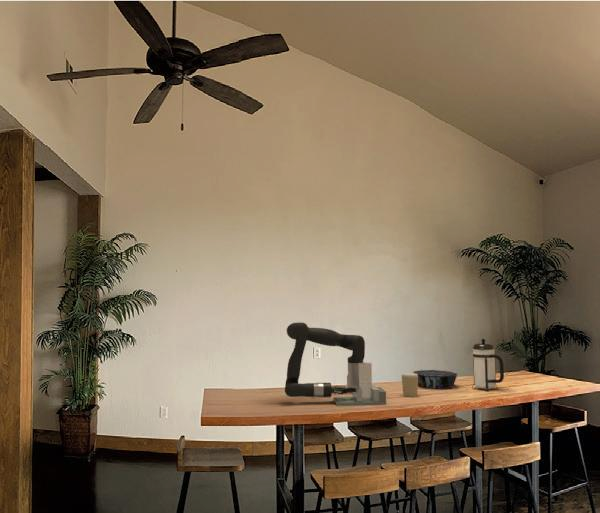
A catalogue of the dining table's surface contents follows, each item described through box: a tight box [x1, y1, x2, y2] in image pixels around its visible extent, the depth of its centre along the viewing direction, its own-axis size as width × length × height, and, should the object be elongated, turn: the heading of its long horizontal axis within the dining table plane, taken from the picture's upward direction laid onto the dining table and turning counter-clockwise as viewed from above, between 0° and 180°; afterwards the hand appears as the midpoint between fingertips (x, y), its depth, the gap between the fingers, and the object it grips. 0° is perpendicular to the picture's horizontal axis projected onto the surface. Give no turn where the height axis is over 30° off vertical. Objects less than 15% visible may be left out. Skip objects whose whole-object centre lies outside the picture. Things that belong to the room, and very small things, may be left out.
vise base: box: [332, 384, 387, 407], centre depth 278 cm, size 26×15×8 cm, turn 94°
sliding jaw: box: [352, 386, 362, 402], centre depth 278 cm, size 3×13×6 cm, turn 4°
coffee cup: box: [400, 372, 419, 398], centre depth 294 cm, size 9×9×12 cm
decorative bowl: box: [412, 369, 458, 390], centre depth 324 cm, size 26×28×10 cm
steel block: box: [359, 362, 373, 400], centre depth 279 cm, size 6×4×19 cm
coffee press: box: [471, 338, 505, 392], centre depth 311 cm, size 17×16×30 cm
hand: (354, 389), depth 278 cm, fingers closed
